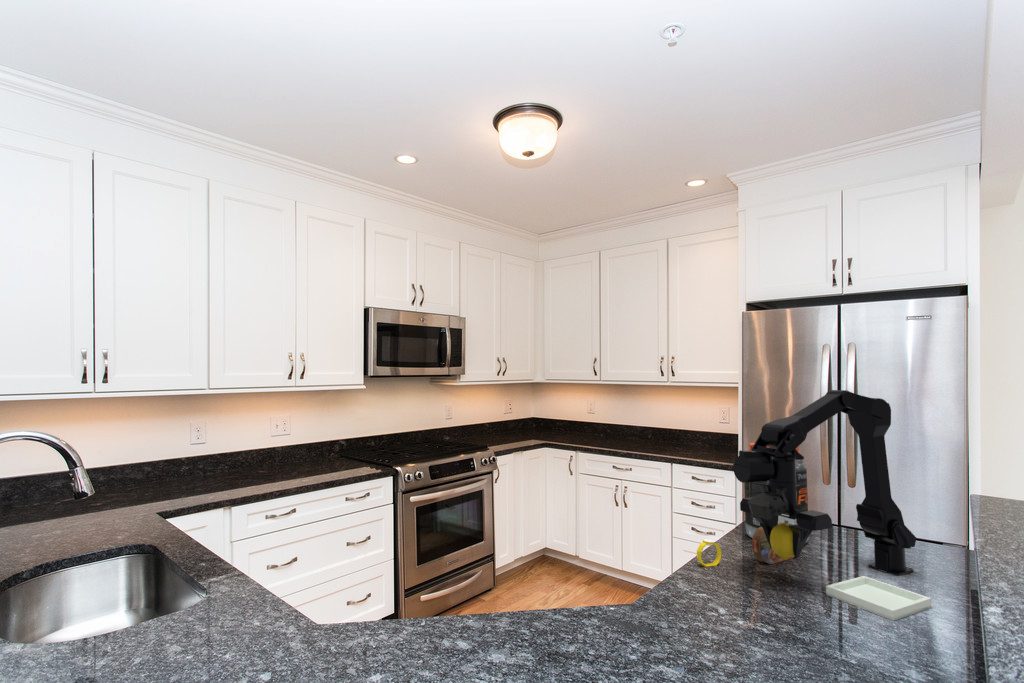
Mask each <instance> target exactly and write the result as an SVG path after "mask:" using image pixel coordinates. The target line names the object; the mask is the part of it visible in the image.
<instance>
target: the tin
mask: <svg viewBox="0 0 1024 683" xmlns="http://www.w3.org/2000/svg"><path fill="white" fill-rule="evenodd" d="M779 524H781V523H778V525H779ZM785 524H786V523H785ZM786 525H788V526H790V525H792V524H786ZM751 540H752V543H751V544H752V546H751V547H752V551H753V554H754V557H755V558H756V559H757V561H760V562H764V563H766V564H767V565H774V564H778V563H781V562H784V561H787V560H792V559H794V558H795V557H796V556H792V557H789V558H788V559H787V560H783V559H782V558H781V557H780V556H779V555H777V554H776V553H775V552H774V551H773V549H772V548H770V545H769V543H768V540H767V538H766V535H765V533H764V530H763V528H762V527H759V528H758V529H757V530H756V531H755V532H754V535H753V538H752V537H751Z"/></svg>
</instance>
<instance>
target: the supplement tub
mask: <svg viewBox="0 0 1024 683" xmlns="http://www.w3.org/2000/svg"><path fill="white" fill-rule="evenodd" d="M755 442H756V441H755ZM755 442H750V443H749V449H748V451H751V449H752V447H753V445H754V444H755ZM799 446H800V445H799ZM799 446H798V447H797V448H796V450H797V451H798V453H800V447H799ZM768 448H770V447H768ZM774 449H775V448H774ZM800 454H801V453H800ZM795 464H796V485H799V486H800V488H801V490H799V491H797V504H801V509H800V510H797V511H798V512H804V511H809V503H808V502H809V501H808V500H809V499H808V498H809V496H808V478H807V477H808V476H807V475H808V473H807V467H806V464H805V462H804V460H795ZM764 484H768V482H767V481H762V482H745V483H743V485H744V486H743V487H744V489H743V491H744V498H749V497H755V496H756V495H758V494H761V493H762V492H763V486H764ZM787 514H789V513H787ZM751 515H752V513H747V512H744V516H745V517H744V518H745V522H744V523H745V524H744V525H745V532H746V534H747V535H748V537H750V538H751V539H752V538H753V535H754V532H755V531H756V530H757V529H758V528H759V527H762V526H761V524H760V522H758V521H757V520H756V519H755V518H753V517H752V516H751ZM778 523H786V524H792V525H795V520H794V519H790V518H786V517H782V516H778ZM809 537H810V536H809ZM809 537H808V539H807V541H806V543H808V541H809V539H810V538H809Z"/></svg>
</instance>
